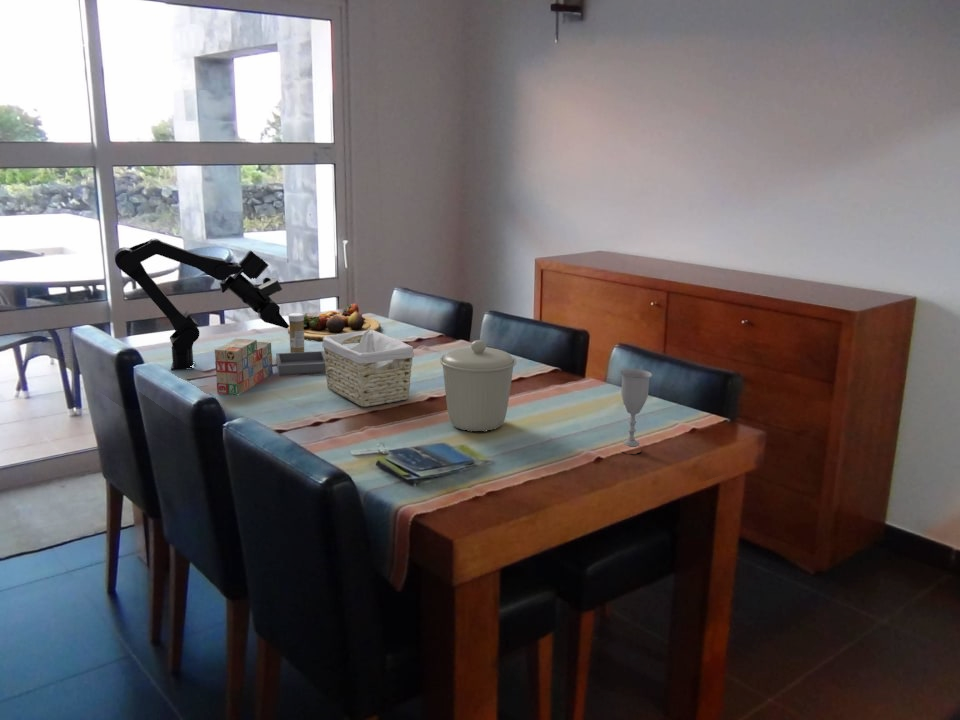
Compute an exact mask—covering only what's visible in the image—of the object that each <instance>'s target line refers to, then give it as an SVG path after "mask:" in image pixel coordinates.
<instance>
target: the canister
mask: <svg viewBox="0 0 960 720" xmlns="http://www.w3.org/2000/svg"><path fill="white" fill-rule="evenodd" d="M439 363H440V364H441V365H442V370H443V371H442V373H443V381H444V391H445V400H446V408H447V414H448V415H447V416H448V418H449V421H450V423H451V424H452V425H453V427H455V428H456V429H459V430H462V431H465V430H467V432H472V431H484V432H487V431H486V430H491V431H493V430H492V429H494V430H496V429H495V428H497V429H498V427H499V428H500V427H501V426H502V425H503V423H504V422H505V420H506V417H507V414H508V413H507V412H508V406H509V400H510V394H511V386H512V379H513V373H514V366H516V364H517V359H516V357H514V356H513V355H511V354H510V353H509V352H507V351H505V350H501V349H498V348H493V347H487V345H486V343H485V341H484V340H480V339H476V340H473V341H472V342H471V344H470V347H469V346H467V347H462V348H461V347H460V348H455V349H453V350H451V351H448V352H447V353H445V354H444V355H442V356H441V357H440V359H439ZM500 425H501V426H500Z"/></svg>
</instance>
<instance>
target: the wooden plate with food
mask: <svg viewBox="0 0 960 720" xmlns="http://www.w3.org/2000/svg"><path fill="white" fill-rule="evenodd" d="M359 309H360V308H359V306H358V304H357V303H351V304H350V305H347V306H345V309H343V312H338V311H334V310H328V311H325V312H322V313H320V314H319V315H314V316H313V315H309V316H308V312H307V313H304V314H303V315H304V320H303V321H304V322H303V325H304V339H308V340H307V341H311V340H317V341H316V342H323V338H324V337H325V336H330V335H337V334H344V333H351V332H359V331H367V330H374V331H377V332H380V330H381V327H382V326H381V323H380V321H378V320H377V319H374V318H372V317H367V316H363V314H362V313H361V312H360V311H359ZM287 332H288V334H289V335H290V325H289V327H288V328H287Z"/></svg>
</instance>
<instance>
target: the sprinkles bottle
mask: <svg viewBox="0 0 960 720" xmlns="http://www.w3.org/2000/svg"><path fill="white" fill-rule="evenodd" d="M304 315H305V314H303V313H301V312H291V313H288V323H289V324H288V325H289V326H290V334H289V346H290V347H289V350H290V352H289V353H295V352H305V340H304V325H303V322H304V321H303V320H304Z"/></svg>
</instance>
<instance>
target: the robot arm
mask: <svg viewBox="0 0 960 720" xmlns="http://www.w3.org/2000/svg"><path fill="white" fill-rule="evenodd" d="M156 255H158V256H162V257H163V258H167V259H169V260H172V261H175V262H179V263H181V264H184V265H187V266H190V267H193V268H195V269H197V270H199V271H201V272H203V273H204V274H206V275H208V276H210V277H211V278H213V279H215V280H218V281H223V282H219V286H220V288H219V289H220V292H221V293H222V294H224V293H225V292H226V291H227V290H229V291H230V292H231V293H233V295H234V296H236V297H237V298H238V299H239V300H241V301H242V302H243V303H244V304H245V305H247V307H249V308H250V309H252V310H253V312H255V313H257V316H258V318H259V319H261V320H262V321H263V322H264V323H267V324H271V325H274V326H278V327H281V328H283V329H286V330H288V327H289V326H290V324H288V322H287V321H286V320H285V319H284V317H283V316H282V314H281V313H280V310H281V307H280V306H279V305H278V304H277V302H275V301H274V300H272V298H271V297H270V296H272V295H273V294H275V293H278V292H280V291H282V290H283V288H282V286H281V284H280V282H279V281H278V279H277V278H270V277H268V276H266V277H264V278H262V283H261V285H259V286H257V285H256V284H253V282H251V281H250V280H252V279H253V280H254V279H255V280H257V279H258V278H259V277H260V276H261V274H263V272H264V271H265V270H266V269H267V268H268V267H269V264H268V263H267V262H266V261H265V260H263V258H261V257H260V256H258V255H257V254H255V252H254V251H252V250H250V249H249V251H248V252H247V253H246V255H245V256H244V257H243V258H242V259H241V260H240V262H235V261H234V262H233V261H226V260H225V259H224V258H221V257H216V256H211V255H202V254H198V253H195V252H193V251H190V250H186V249H184V248H181V247H178V246H176V245H173V244H171V243H167V242H164V241H162V240H161V239H159V238H150V239H149V240H147V241H145V242H142V243H139V244H135V245H133V246H131V247H126V246H124V247H120V248H118V249H117V250H116V251H115V253H114V257H113V258H114V262H115V265H116V267H117V268H118V269H119V270H121V272H123V273H124V274H125V275H127V277H130V278H131V279H132V280H133V281H135V282H136V283H137V285H139V287H140V288H141V289H142V290H143V291H144V292H145V293H146V295H147V296H148V297H149V298H150V299H151V300H152V302H153V303H154V304H155V305H156V306H157V307H158V308H159V309H160V311H161V312H162V313H163V315H165V317H166V318H167V319H168V320H169V322H170V323H171V325H172V327H173V330H174V332H173V333H172V334H171V335H170V336H169V340H170V342H171V358H172V362H171V367H170V370H171V371H174V370H176V371H177V370H188V369H187V368H192V367H190V366H192V365H193V364H194V363H193V362H194V351H193V345H194V343H195V342H197V340H198V339H199V338H200V334H201V333H200V330H199V328H198V327H199V324H198V322H197V320H195V319H194V318H193V317H192V316H191V314H190V313H189V312H188V310H187V311H185V313H183V312H182V311H181V310H179V308H177V306H176V305H175V304H174V303H173V302H172V300H171V299H169V297H168V296H167V295H166V294H165V293H164V291H163V290H162V289H161V287H160V286H159V285H158V284H157V283H156V282H155V281H154V279H153V278H152V277H151V276H150V274H149V273H148V272H147V271H146V269H145V268H144V266H143V263H142V262H144V261H146V260H148V259H151V257H154V256H156ZM243 274H244V275H245V276H246V277H245V276H244V275H243ZM232 275H233V276H232ZM247 278H249V280H248V279H247Z"/></svg>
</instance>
